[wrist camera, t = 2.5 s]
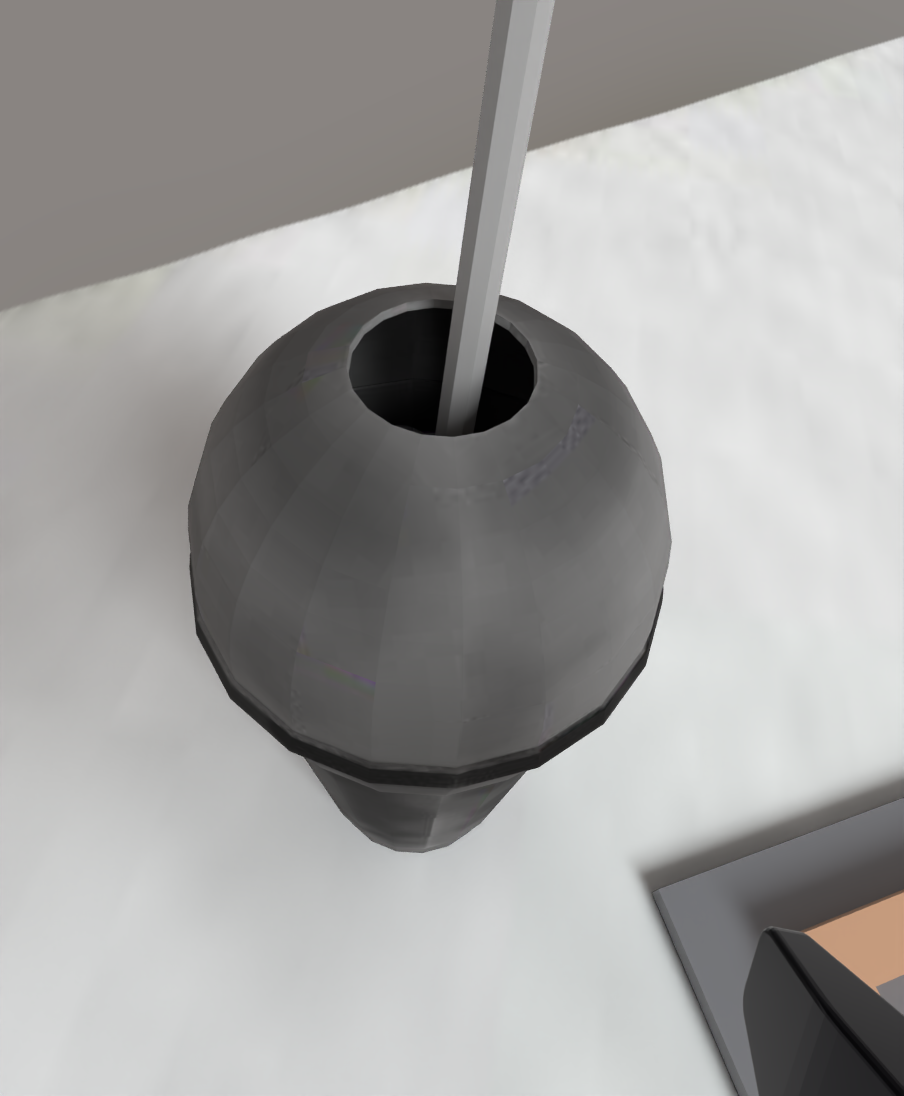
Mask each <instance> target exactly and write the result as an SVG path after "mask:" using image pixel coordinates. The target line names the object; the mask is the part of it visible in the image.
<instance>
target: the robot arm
mask: <svg viewBox="0 0 904 1096" xmlns="http://www.w3.org/2000/svg"><path fill="white" fill-rule="evenodd" d="M743 1014H744V1020H745V1026H746V1031H747V1037H748V1042H749V1047H750V1053H751V1058H752V1064H753V1069H754V1074H755V1080H756V1085H757V1091H758V1096H904V1015H903V1014H902V1013H900V1012H899V1011H898V1010H897V1009H896V1008H894V1007H893V1006H892V1005H891V1004H890V1003H888V1002H887V1001H886V1000H885V999H884V998H883V997H881V996H880V995H879V994H878V993H877V992H875V991H874V990H873V989H872V988H871V987H869V986H868V985H867V984H866V983H865V982H863V981H862V980H861V979H860V978H859V977H857V976H856V975H855V974H854V973H853V972H852V971H850V970H849V969H848V968H847V967H846V966H844V965H843V964H842V963H841V962H840V961H838V960H837V959H836V958H835V957H834V956H832V955H831V954H830V953H829V952H828V951H826V950H825V949H824V948H823V947H822V946H821V945H819V944H818V943H817V942H816V941H815V940H813V939H812V938H811V937H810V936H808V935H807V934H805V933H803V932H799V931H794V930H789V929H783V928H778V927H773V926H769V927H768V928H766V929H764V930H763V931H762V933H761V935H760V937H759V940H758V943H757V946H756V950H755V953H754V956H753V960H752V963H751V967H750V970H749V973H748V977H747V980H746V984H745V987H744V992H743Z"/></svg>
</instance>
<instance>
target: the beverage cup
mask: <svg viewBox="0 0 904 1096" xmlns="http://www.w3.org/2000/svg"><path fill="white" fill-rule="evenodd" d="M554 2H555V0H497V1H496V7H495V14H494V21H493V28H492V35H491V42H490V50H489V57H488V65H487V71H486V79H485V85H484V92H483V100H482V106H481V114H480V121H479V128H478V135H477V143H476V149H475V157H474V163H473V170H472V177H471V185H470V192H469V199H468V206H467V213H466V220H465V227H464V234H463V241H462V248H461V256H460V263H459V270H458V277H457V284H456V285H444V284H432V283H421V284H413V285H405V286H397V287H389V288H382V289H376V290H373V291H371V292H368V293H365V294H363V295H360V296H357V297H355V298H352V299H349V300H346V301H344V302H341V303H338V304H336V305H333V306H330V307H328V308H325V309H323V310H320V311H318V312H316V313H315V314H313V315H312V316H310V317H309V318H308V319H306V320H305V321H303V322H302V323H300V324H299V325H298V326H296V327H295V328H293V329H292V330H291V331H289V332H288V333H286V334H285V335H283V336H282V337H281V338H279V339H278V340H276V341H275V342H274V343H273V344H272V345H271V346H269V347H268V348H267V349H266V350H265V351H264V352H263V353H262V354H261V355H260V356H259V357H258V358H257V359H256V360H255V362H254V363H253V364H252V366H251V367H250V368H249V370H248V371H247V372H246V374H245V375H244V376H243V378H242V379H241V380H240V382H239V383H238V384H237V386H236V387H235V388H234V390H233V391H232V392H231V394H230V395H229V396H228V398H227V399H226V400H225V402H224V403H223V405H222V407H221V408H220V410H219V412H218V413H217V415H216V417H215V419H214V420H213V422H212V424H211V427H210V431H209V434H208V438H207V441H206V445H205V448H204V451H203V455H202V458H201V462H200V465H199V469H198V472H197V476H196V479H195V483H194V486H193V490H192V494H191V498H190V501H189V505H188V532H189V541H190V550H191V553H190V577H191V587H192V596H193V606H194V615H195V625H196V634H197V636H198V638H199V640H200V642H201V644H202V646H203V648H204V649H205V651H206V653H207V655H208V657H209V659H210V661H211V663H212V665H213V667H214V668H215V670H216V672H217V674H218V676H219V678H220V680H221V682H222V684H223V686H224V687H225V689H226V691H227V693H228V695H229V697H230V699H231V700H233V701H234V702H235V703H236V704H237V705H238V706H239V707H241V708H242V709H243V710H244V711H245V712H246V713H247V714H248V715H250V716H251V717H252V718H253V719H254V720H255V721H256V722H257V723H259V724H260V725H261V726H262V727H263V728H264V729H265V730H267V731H268V732H269V733H270V734H271V735H272V736H273V737H274V738H276V739H277V740H278V741H279V742H280V743H281V744H282V745H283V746H285V747H286V748H287V749H288V750H289V751H291V752H293V753H296V754H298V755H301V756H303V757H304V758H305V759H306V761H307V762H308V763H309V765H310V766H311V768H312V769H313V771H314V772H315V774H316V775H317V777H318V778H319V780H320V781H321V783H322V784H323V786H324V787H325V789H326V790H327V792H328V793H329V794H330V796H331V797H332V799H333V800H334V802H335V803H336V805H337V806H338V808H339V809H340V811H341V812H342V814H343V815H344V816H345V817H346V818H347V819H349V820H350V821H351V822H352V824H354V825H355V826H356V827H357V828H358V829H359V830H360V831H361V832H362V833H364V834H365V835H366V836H367V837H368V838H369V839H370V840H371V841H373V842H376V843H378V844H380V845H383V846H385V847H388V848H390V849H392V850H395V851H401V852H417V853H424V852H428V851H431V850H435V849H439V848H442V847H446V846H449V845H450V844H452V843H453V842H455V841H456V840H458V839H459V838H461V837H462V836H464V835H465V834H467V833H468V832H469V831H470V830H471V829H473V828H474V827H476V826H477V825H479V824H480V823H481V822H482V821H483V820H484V819H485V818H486V816H487V815H488V814H489V813H490V812H491V811H492V810H493V809H494V807H495V806H496V805H497V804H498V803H499V802H500V801H501V799H502V798H503V797H504V796H505V795H506V794H507V793H508V792H509V790H510V789H511V788H512V787H513V786H514V785H515V784H516V782H517V781H518V780H519V779H520V778H521V777H522V776H523V775H524V773H525V772H526V771H527V770H531V769H535V768H538V767H540V766H541V765H543V764H544V763H546V762H547V761H549V760H550V759H552V758H553V757H555V756H556V755H558V754H559V753H561V752H562V751H564V750H565V749H567V748H568V747H570V746H571V745H573V744H574V743H576V742H577V741H579V740H580V739H582V738H583V737H585V736H586V735H588V734H589V733H591V732H592V731H594V730H595V729H597V728H598V727H600V726H601V725H603V724H604V723H605V721H606V720H607V719H608V717H609V716H610V715H611V713H612V712H613V710H614V709H615V708H616V706H617V705H618V703H619V702H620V701H621V699H622V698H623V697H624V695H625V694H626V692H627V691H628V690H629V688H630V687H631V685H632V684H633V683H634V681H635V680H636V679H637V677H638V676H639V674H640V673H641V672H642V670H643V669H644V667H645V666H646V663H647V659H648V655H649V651H650V647H651V644H652V640H653V636H654V632H655V628H656V624H657V620H658V616H659V613H660V609H661V605H662V599H663V584H664V580H665V576H666V572H667V569H668V564H669V557H670V550H671V543H672V541H671V533H670V525H669V516H668V509H667V501H666V493H665V485H664V477H663V470H662V462H661V457H660V454H659V452H658V449H657V447H656V444H655V442H654V440H653V437H652V435H651V433H650V431H649V429H648V427H647V425H646V423H645V421H644V419H643V418H642V416H641V414H640V412H639V410H638V408H637V406H636V404H635V402H634V400H633V399H632V397H631V395H630V393H629V391H628V389H627V387H626V386H625V384H624V383H623V382H622V381H621V379H620V378H619V377H618V376H617V374H616V373H615V372H614V371H613V370H612V368H611V367H610V366H609V365H608V364H607V363H606V362H605V361H604V360H603V359H602V358H601V357H599V356H598V355H597V354H596V353H595V352H594V351H593V350H592V349H591V348H590V347H589V346H588V345H587V344H586V343H585V342H584V341H583V340H582V339H581V338H580V337H579V336H578V335H577V334H576V333H575V332H573V331H571V330H570V329H568V328H566V327H565V326H563V325H561V324H560V323H558V322H556V321H554V320H553V319H551V318H549V317H547V316H546V315H544V314H542V313H540V312H539V311H537V310H535V309H533V308H531V307H530V306H528V305H526V304H524V303H523V302H521V301H519V300H516V299H512V298H509V297H506V296H502V295H499V294H500V289H501V284H502V278H503V273H504V268H505V262H506V257H507V252H508V246H509V241H510V236H511V230H512V225H513V220H514V215H515V209H516V204H517V199H518V193H519V188H520V183H521V177H522V172H523V167H524V162H525V156H526V151H527V145H528V140H529V135H530V130H531V124H532V119H533V114H534V108H535V103H536V98H537V92H538V87H539V81H540V76H541V71H542V66H543V61H544V55H545V50H546V44H547V40H548V34H549V29H550V24H551V18H552V13H553V8H554Z"/></svg>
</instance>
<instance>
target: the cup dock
mask: <svg viewBox="0 0 904 1096" xmlns="http://www.w3.org/2000/svg"><path fill="white" fill-rule="evenodd" d="M652 894H653V896H654V899H655V901H656V903H657V906H658V908H659V910H660V913H661V915H662V917H663V920H664V922H665V924H666V927H667V929H668V931H669V934H670V936H671V938H672V941H673V943H674V945H675V948H676V950H677V952H678V955H679V957H680V959H681V962H682V964H683V966H684V969H685V971H686V973H687V976H688V978H689V980H690V983H691V985H692V987H693V990H694V992H695V994H696V997H697V999H698V1001H699V1004H700V1006H701V1008H702V1011H703V1013H704V1015H705V1018H706V1020H707V1022H708V1025H709V1027H710V1029H711V1032H712V1034H713V1036H714V1039H715V1041H716V1043H717V1046H718V1048H719V1050H720V1053H721V1055H722V1057H723V1060H724V1062H725V1064H726V1067H727V1069H728V1071H729V1074H730V1076H731V1078H732V1081H733V1083H734V1085H735V1088H736V1090H737V1092H738V1095H739V1096H758V1091H757V1085H756V1080H755V1074H754V1069H753V1064H752V1058H751V1053H750V1047H749V1042H748V1037H747V1031H746V1026H745V1020H744V1014H743V992H744V987H745V984H746V980H747V977H748V973H749V970H750V967H751V963H752V960H753V956H754V953H755V950H756V946H757V943H758V940H759V937H760V935H761V933H762V931H763V930H764V929H766V928H768V927H769V926H773V927H778V928H783V929H789V930H794V931H799V932H803V933H805V934H807V935H808V936H810V937H811V938H812V939H813V940H815V941H816V942H817V943H818V944H819V945H821V946H822V947H823V948H824V949H825V950H826V951H828V952H829V953H830V954H831V955H832V956H834V957H835V958H836V959H837V960H838V961H840V962H841V963H842V964H843V965H844V966H846V967H847V968H848V969H849V970H850V971H852V972H853V973H854V974H855V975H856V976H857V977H859V978H860V979H861V980H862V981H863V982H865V983H866V984H867V985H868V986H869V987H871V988H872V989H873V990H874V991H875V992H877V993H878V994H879V995H880V996H881V997H883V998H884V999H885V1000H886V1001H887V1002H888V1003H890V1004H891V1005H892V1006H893V1007H894V1008H896V1009H897V1010H898V1011H899V1012H900V1013H902V1014H903V1015H904V798H902V799H899V800H896V801H893V802H891V803H888V804H885V805H883V806H880V807H877V808H875V809H872V810H869V811H867V812H864V813H861V814H859V815H856V816H853V817H851V818H848V819H845V820H843V821H840V822H837V823H834V824H832V825H829V826H826V827H824V828H821V829H818V830H816V831H813V832H810V833H808V834H805V835H802V836H800V837H797V838H794V839H792V840H789V841H786V842H784V843H781V844H778V845H776V846H773V847H770V848H767V849H765V850H762V851H759V852H757V853H754V854H751V855H749V856H746V857H743V858H741V859H738V860H735V861H733V862H730V863H727V864H725V865H722V866H719V867H717V868H714V869H711V870H708V871H706V872H703V873H700V874H698V875H695V876H692V877H690V878H687V879H684V880H682V881H679V882H676V883H674V884H671V885H668V886H666V887H663V888H660V889H658V890H656V891H654V892H652Z"/></svg>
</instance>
